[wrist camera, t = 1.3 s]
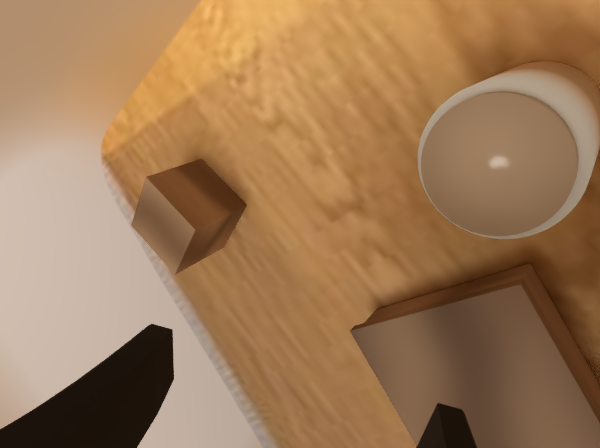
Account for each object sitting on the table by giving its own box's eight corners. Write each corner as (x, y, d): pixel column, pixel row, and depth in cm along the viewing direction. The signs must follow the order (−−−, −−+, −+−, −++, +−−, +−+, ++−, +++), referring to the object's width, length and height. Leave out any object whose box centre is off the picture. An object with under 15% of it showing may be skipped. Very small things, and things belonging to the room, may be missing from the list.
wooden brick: (532, 257, 19) (521, 284, 17) (670, 499, 19) (673, 551, 17) (371, 307, 25) (350, 330, 23) (477, 490, 25) (464, 528, 23)
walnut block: (202, 158, 29) (146, 177, 26) (247, 204, 28) (195, 229, 25) (184, 203, 32) (131, 225, 28) (224, 246, 31) (175, 274, 27)
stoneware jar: (568, 33, 15) (533, 42, 11) (632, 148, 16) (627, 209, 11) (452, 104, 19) (384, 137, 14) (506, 200, 19) (458, 265, 14)
